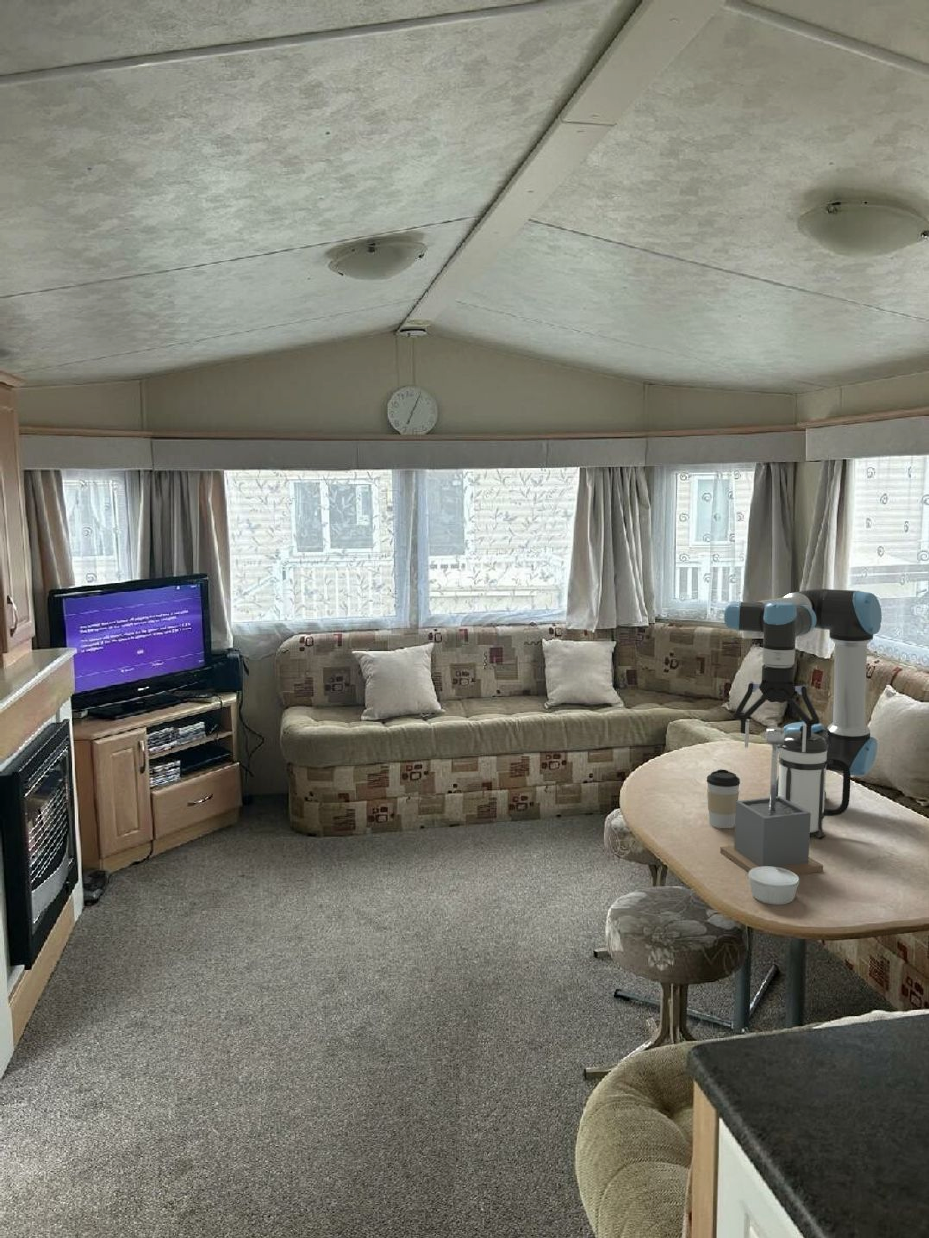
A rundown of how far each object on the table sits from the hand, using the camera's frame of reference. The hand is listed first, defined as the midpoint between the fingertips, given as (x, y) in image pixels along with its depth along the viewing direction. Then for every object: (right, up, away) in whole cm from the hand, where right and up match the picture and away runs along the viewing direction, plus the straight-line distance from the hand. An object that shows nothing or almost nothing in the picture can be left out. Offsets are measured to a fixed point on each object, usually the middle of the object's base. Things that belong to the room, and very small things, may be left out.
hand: (774, 748), depth 240 cm
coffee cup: (-5, -26, +31) cm, 40 cm away
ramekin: (-6, -33, -16) cm, 37 cm away
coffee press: (+16, -26, +25) cm, 40 cm away
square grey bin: (0, -29, +4) cm, 30 cm away
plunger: (0, -16, +2) cm, 17 cm away
